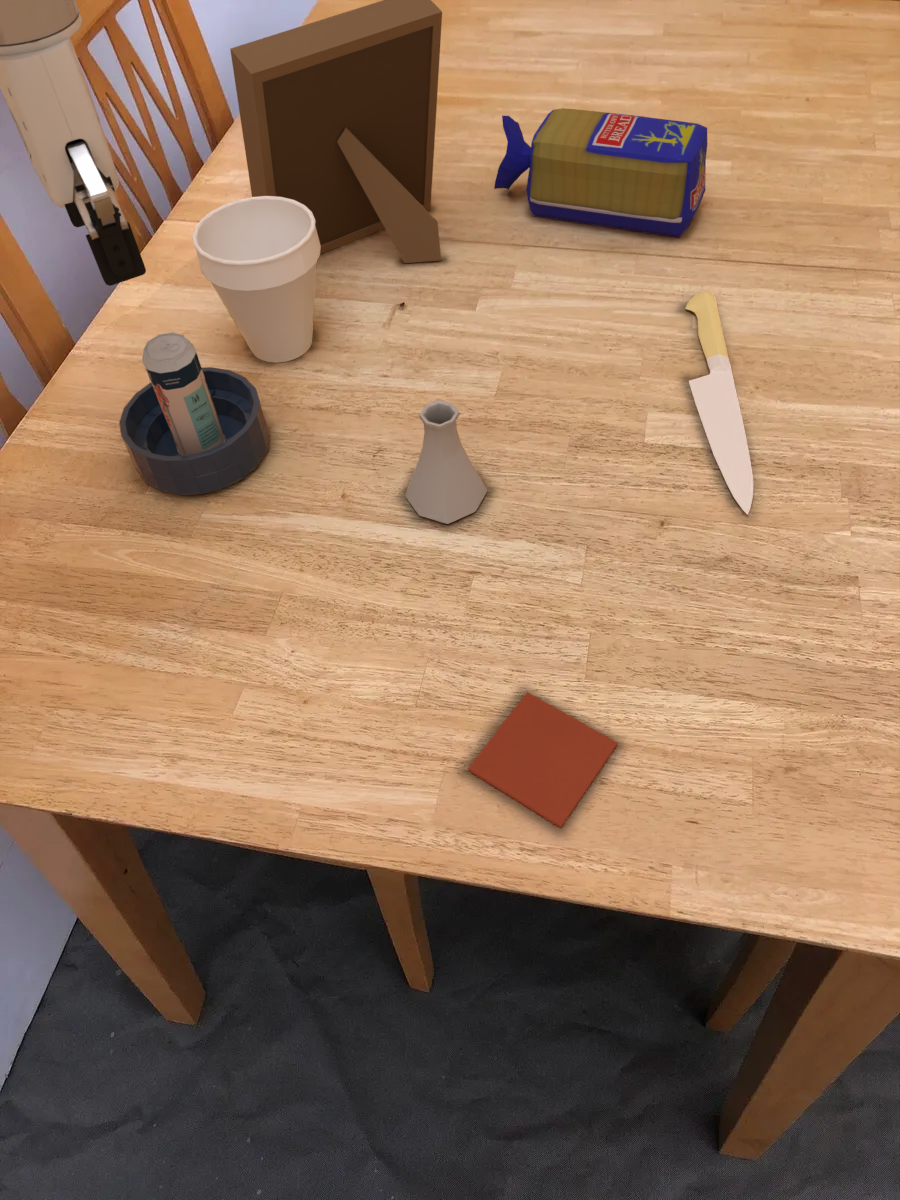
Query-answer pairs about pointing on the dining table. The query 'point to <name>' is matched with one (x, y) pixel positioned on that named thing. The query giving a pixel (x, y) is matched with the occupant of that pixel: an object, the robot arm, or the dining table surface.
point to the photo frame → (348, 122)
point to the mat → (543, 759)
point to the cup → (263, 271)
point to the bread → (610, 169)
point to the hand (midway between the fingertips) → (108, 248)
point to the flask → (444, 469)
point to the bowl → (205, 469)
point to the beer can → (182, 393)
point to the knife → (721, 403)
